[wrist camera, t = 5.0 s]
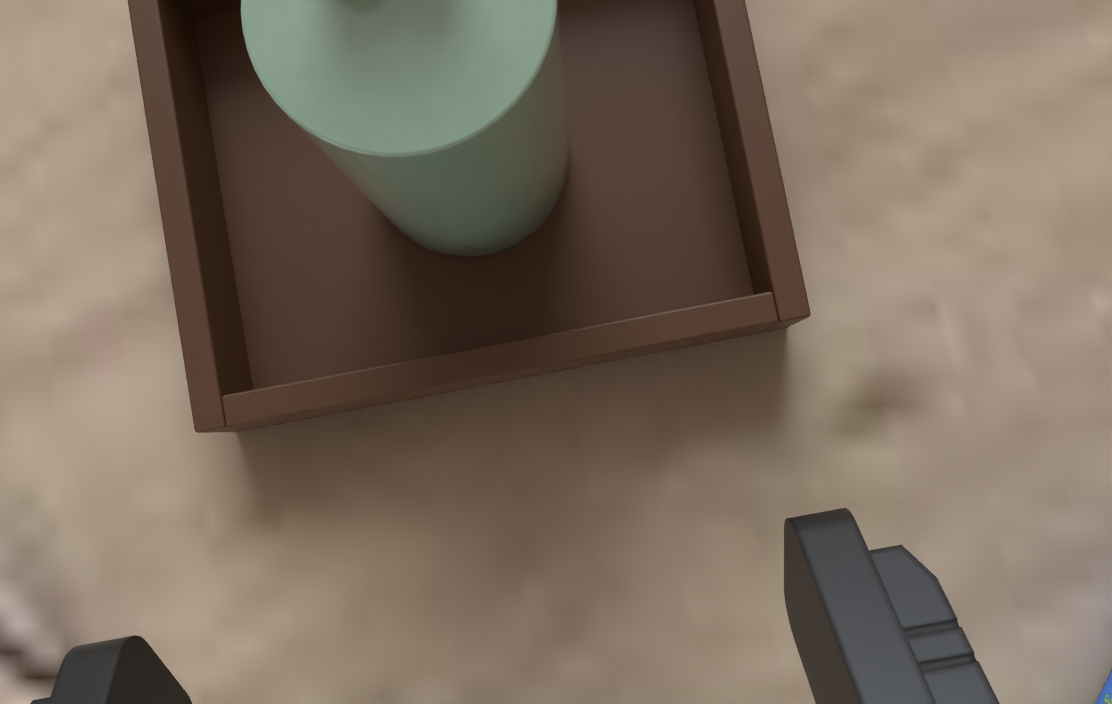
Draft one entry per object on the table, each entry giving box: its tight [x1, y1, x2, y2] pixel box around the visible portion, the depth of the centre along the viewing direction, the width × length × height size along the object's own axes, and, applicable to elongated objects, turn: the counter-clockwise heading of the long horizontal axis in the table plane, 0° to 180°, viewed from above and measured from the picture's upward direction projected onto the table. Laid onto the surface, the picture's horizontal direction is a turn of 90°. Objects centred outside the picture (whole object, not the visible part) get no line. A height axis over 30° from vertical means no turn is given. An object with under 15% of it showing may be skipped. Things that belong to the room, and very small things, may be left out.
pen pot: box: [241, 0, 569, 257], centre depth 21 cm, size 6×6×12 cm
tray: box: [128, 0, 811, 433], centre depth 26 cm, size 16×13×3 cm
